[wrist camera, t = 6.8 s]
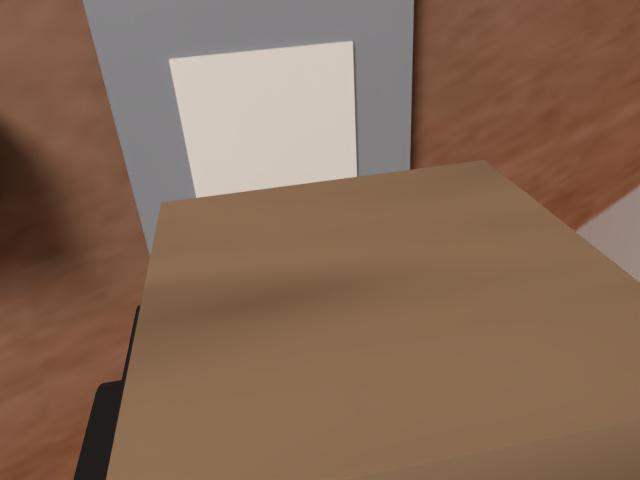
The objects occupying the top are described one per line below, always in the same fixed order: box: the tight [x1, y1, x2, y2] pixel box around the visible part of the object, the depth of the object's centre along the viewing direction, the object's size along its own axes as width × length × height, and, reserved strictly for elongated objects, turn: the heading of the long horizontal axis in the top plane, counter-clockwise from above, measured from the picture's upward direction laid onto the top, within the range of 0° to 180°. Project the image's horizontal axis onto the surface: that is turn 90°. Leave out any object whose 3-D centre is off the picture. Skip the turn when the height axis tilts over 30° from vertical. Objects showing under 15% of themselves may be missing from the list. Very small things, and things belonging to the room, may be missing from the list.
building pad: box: [83, 0, 414, 256], centre depth 22 cm, size 14×12×1 cm
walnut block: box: [106, 160, 640, 480], centre depth 8 cm, size 6×6×6 cm
